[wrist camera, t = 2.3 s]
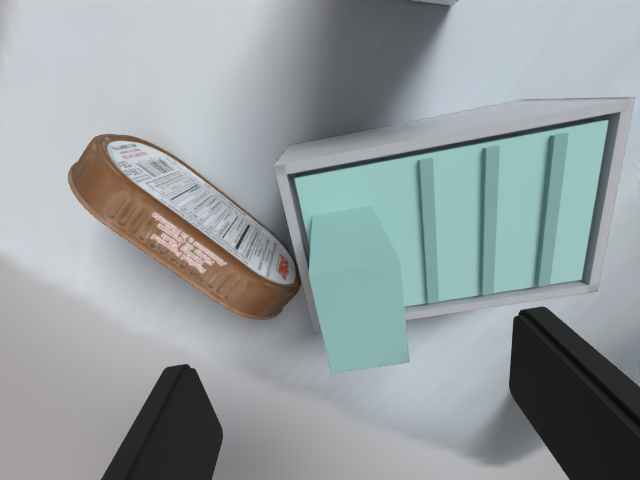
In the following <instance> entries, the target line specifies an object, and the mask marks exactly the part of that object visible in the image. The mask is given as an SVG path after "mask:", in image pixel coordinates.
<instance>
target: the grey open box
mask: <svg viewBox="0 0 640 480" xmlns="http://www.w3.org/2000/svg"><path fill="white" fill-rule="evenodd" d="M634 102H635V97H613V98H569V99H525V100H519V101H514V102H509V103H504V104H498V105H493V106H488V107H483V108H478V109H473V110H468V111H462V112H457V113H452V114H447V115H442V116H437V117H432V118H426V119H421V120H416V121H411V122H406V123H401V124H396V125H390V126H385V127H380V128H375V129H370V130H365V131H360V132H355V133H349V134H344V135H339V136H334V137H329V138H324V139H319V140H313V141H308V142H303V143H298V144H293V145H289V146H288V147H287V149H286V150H285V151H284V153H283V154H282V155H281V157H280V158H279V159H278V161H277V162H276V163H275V165H274V170H275V174H276V178H277V182H278V186H279V190H280V194H281V198H282V203H283V207H284V211H285V215H286V219H287V223H288V227H289V231H290V236H291V240H292V244H293V248H294V252H295V256H296V260H297V264H298V269H299V273H300V277H301V281H302V285H303V289H304V293H305V298H306V302H307V306H308V310H309V314H310V318H311V322H312V326H313V331H314V334H317V333H322V331H321V327H320V322H319V318H318V314H317V309H316V305H315V301H314V296H313V292H312V287H311V283H310V279H309V262H310V248H309V243H308V238H307V234H306V229H305V225H304V220H303V216H302V211H301V207H300V202H299V197H298V193H297V188H296V184H295V179H294V178H295V175H299V174H304V173H309V172H315V171H320V170H326V169H331V168H336V167H342V166H347V165H352V164H358V163H363V162H368V161H374V160H379V159H384V158H390V157H395V156H400V155H406V154H411V153H416V152H422V151H427V150H432V149H438V148H443V147H448V146H454V145H459V144H464V143H470V142H475V141H480V140H486V139H491V138H496V137H502V136H507V135H512V134H518V133H523V132H529V131H534V130H539V129H545V128H550V127H555V126H561V125H566V124H571V123H577V122H582V121H587V120H593V119H600V120H609V121H608V127H607V133H606V139H605V145H604V150H603V156H602V162H601V168H600V174H599V180H598V186H597V192H596V198H595V204H594V209H593V215H592V221H591V227H590V233H589V239H588V245H587V251H586V257H585V263H584V268H583V274H582V280H577V281H571V282H564V283H557V284H551V285H547V286H541V287H531V288H525V289H518V290H511V291H505V292H498V293H494V294H488V295H479V296H472V297H465V298H459V299H452V300H446V301H439V302H435V303H429V304H428V303H426V304H419V305H413V306H406V307H404V308H405V319H406V320H411V319H417V318H424V317H431V316H437V315H444V314H451V313H458V312H464V311H471V310H478V309H484V308H491V307H498V306H504V305H511V304H518V303H525V302H531V301H538V300H545V299H551V298H558V297H565V296H572V295H578V294H585V293H592V292H597V291H598V286H599V280H600V275H601V270H602V265H603V260H604V255H605V250H606V245H607V240H608V235H609V229H610V224H611V219H612V214H613V209H614V204H615V199H616V194H617V189H618V183H619V178H620V173H621V168H622V163H623V158H624V153H625V148H626V143H627V138H628V132H629V127H630V122H631V117H632V112H633V107H634Z"/></svg>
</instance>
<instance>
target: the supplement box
mask: <svg viewBox="0 0 640 480" xmlns="http://www.w3.org/2000/svg"><path fill="white" fill-rule="evenodd" d="M412 1H420V2H428V3H436V4H443V5H450V6H452V5H454V4H455V3H456V2H457V1H459V0H412Z"/></svg>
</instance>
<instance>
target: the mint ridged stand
mask: <svg viewBox="0 0 640 480" xmlns="http://www.w3.org/2000/svg"><path fill="white" fill-rule="evenodd" d="M608 121H609V120H600V119H593V120H587V121H582V122H577V123H571V124H566V125H561V126H555V127H550V128H545V129H539V130H534V131H529V132H523V133H518V134H512V135H507V136H502V137H496V138H491V139H486V140H480V141H475V142H470V143H464V144H459V145H454V146H448V147H443V148H438V149H432V150H427V151H422V152H416V153H411V154H406V155H400V156H395V157H390V158H384V159H379V160H374V161H368V162H363V163H358V164H352V165H347V166H342V167H336V168H331V169H326V170H320V171H315V172H309V173H304V174H299V175H295V178H294V179H295V184H296V188H297V193H298V197H299V202H300V207H301V211H302V216H303V220H304V225H305V229H306V234H307V238H308V243H309V248H310V262H309V279H310V283H311V287H312V292H313V296H314V301H315V305H316V309H317V314H318V318H319V322H320V327H321V331H322V335H323V340H324V344H325V348H326V353H327V357H328V361H329V366H330V370H331V373H337V372H345V371H352V370H359V369H366V368H373V367H380V366H388V365H395V364H402V363H409V362H410V361H409V350H408V340H407V329H406V319H405V308H404V307H406V306H413V305H419V304H426V303H428V304H429V303H435V302H439V301H446V300H452V299H459V298H465V297H472V296H479V295H488V294H494V293H498V292H505V291H511V290H518V289H525V288H531V287H541V286H547V285H551V284H557V283H564V282H571V281H577V280H582V274H583V268H584V263H585V257H586V251H587V245H588V239H589V233H590V227H591V221H592V215H593V209H594V204H595V198H596V192H597V186H598V180H599V174H600V168H601V162H602V156H603V150H604V145H605V139H606V133H607V127H608Z"/></svg>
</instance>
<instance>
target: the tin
mask: <svg viewBox="0 0 640 480" xmlns="http://www.w3.org/2000/svg"><path fill="white" fill-rule="evenodd" d="M68 182H69V185H70V187H71V190H72V191H73V193H74V195H75V196H76V198H77V199H78V201H79V202H80V203H81V204H82V205H83V206H84V208H85V209H86V210H88V211H89V212H90V214H92V215H93V216H94V217H95V218H97V219H98V220H99V221H100V222H102V223H103V224H104V225H106V226H107V227H109V228H110V229H112V230H113V231H114V232H116V233H118V234H119V235H120V236H122V237H123V238H125V239H126V240H128V241H129V242H131V243H132V244H134V245H135V246H137V247H138V248H139V249H141V250H142V251H144V252H145V253H147V254H148V255H150V256H151V257H153V258H154V259H156V260H157V261H158V262H160V263H161V264H163V265H164V266H166V267H167V268H169V269H170V270H172V271H173V272H174V273H176V274H177V275H179V276H180V277H182V278H183V279H185V280H186V281H188V282H189V283H190V284H192V285H193V286H195V287H196V288H198V289H199V290H201V291H202V292H203V293H205V294H206V295H208V296H209V297H210V298H212V299H213V300H215V301H216V302H218V303H219V304H221V305H222V306H224V307H226V308H227V309H229V310H231V311H233V312H235V313H237V314H240V315H242V316H245V317H248V318H253V319H261V320H265V319H271V318H274V317H276V316H277V315H278V314H279V313H280V312H281V311H282V309H283V307H284V306H285V305H286V304H287V303H288V302H289V301H290V300H291V299H292V298H293V297H294V296H295V294H296V293H297V292H298V291H299V288H300V285H301V280H300V273H299V269H298V264H297V262H296V261H295V259H294V257H293V256H292V254H291V253H290V252H289V250H288V249H287V248H286V246H285V245H284V244H283V243H282V242H281V241H280V240H279V239H278V238H277V237H276V236H275V235H274V234H273V233H272V232H271V231H269V230H268V229H267V228H266V227H265V226H263V225H262V224H261V223H260V222H259V221H257V220H256V219H255V218H254V217H252V216H251V215H250V214H249V213H247V212H246V211H245V210H244V209H242V208H241V207H240V206H239V205H238V204H236V203H235V202H234V201H233V200H231V199H230V198H229V197H228V196H226V195H225V194H224V193H223V192H221V191H220V190H219V189H217V188H216V187H215V186H214V185H212V184H211V183H210V182H209V181H207V180H206V179H205V178H204V177H202V176H201V175H200V174H199V173H197V172H196V171H195V170H193V169H192V168H191V167H190V166H188V165H187V164H185V163H184V162H183V161H181V160H180V159H178V158H177V157H175V156H174V155H172V154H170V153H169V152H167V151H165V150H163V149H162V148H160V147H158V146H156V145H154V144H152V143H149V142H147V141H145V140H142V139H139V138H137V137H133V136H128V135H115V134H104V135H99V136H96V137H94V138H93V140H92V141H91V142H90V143H89V145H88V146H87V148H86V149H85V151H84V152H83V154H82V156H81V157H80V159H79V160H78V162H76V163H75V164H74V165H73V166H72V167H71V168H70V171H69V173H68Z"/></svg>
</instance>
